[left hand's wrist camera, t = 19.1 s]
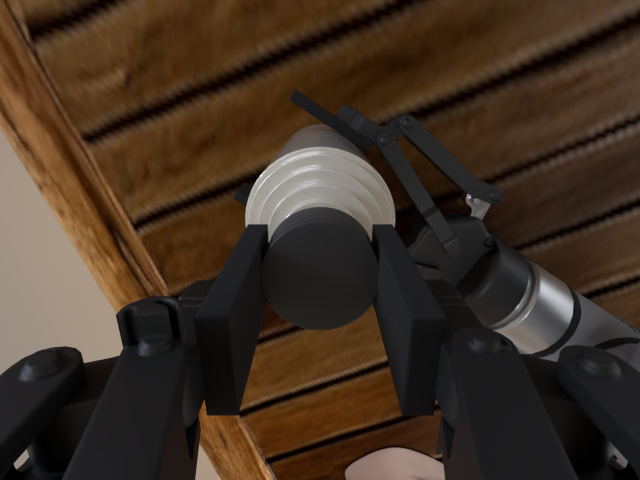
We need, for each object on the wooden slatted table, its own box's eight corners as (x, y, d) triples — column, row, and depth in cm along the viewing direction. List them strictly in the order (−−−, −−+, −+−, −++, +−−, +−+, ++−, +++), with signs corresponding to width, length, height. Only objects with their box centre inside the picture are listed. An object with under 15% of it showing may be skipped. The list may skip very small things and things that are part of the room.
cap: (296, 186, 13) (293, 200, 12) (393, 236, 14) (403, 256, 12) (250, 277, 15) (240, 301, 13) (340, 319, 15) (343, 347, 14)
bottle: (273, 195, 35) (205, 337, 14) (288, 115, 33) (231, 143, 12) (349, 212, 36) (390, 370, 15) (369, 134, 33) (453, 193, 12)
